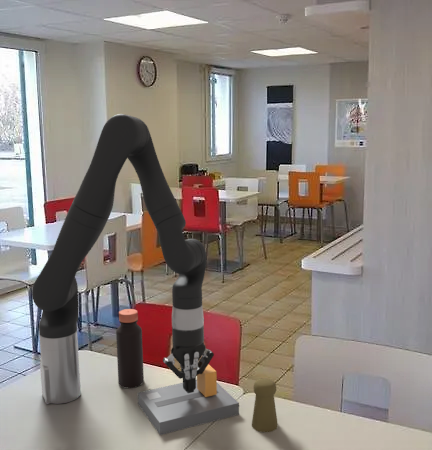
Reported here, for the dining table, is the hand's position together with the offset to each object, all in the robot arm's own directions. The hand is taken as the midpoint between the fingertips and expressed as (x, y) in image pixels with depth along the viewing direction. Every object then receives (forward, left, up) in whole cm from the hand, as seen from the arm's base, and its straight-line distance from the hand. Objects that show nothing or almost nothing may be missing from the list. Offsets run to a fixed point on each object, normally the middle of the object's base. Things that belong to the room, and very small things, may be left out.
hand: (189, 391), depth 138 cm
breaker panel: (-1, 0, -5) cm, 5 cm away
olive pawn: (+12, -15, -5) cm, 20 cm away
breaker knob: (+5, 0, -1) cm, 5 cm away
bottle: (-9, +20, -5) cm, 22 cm away
